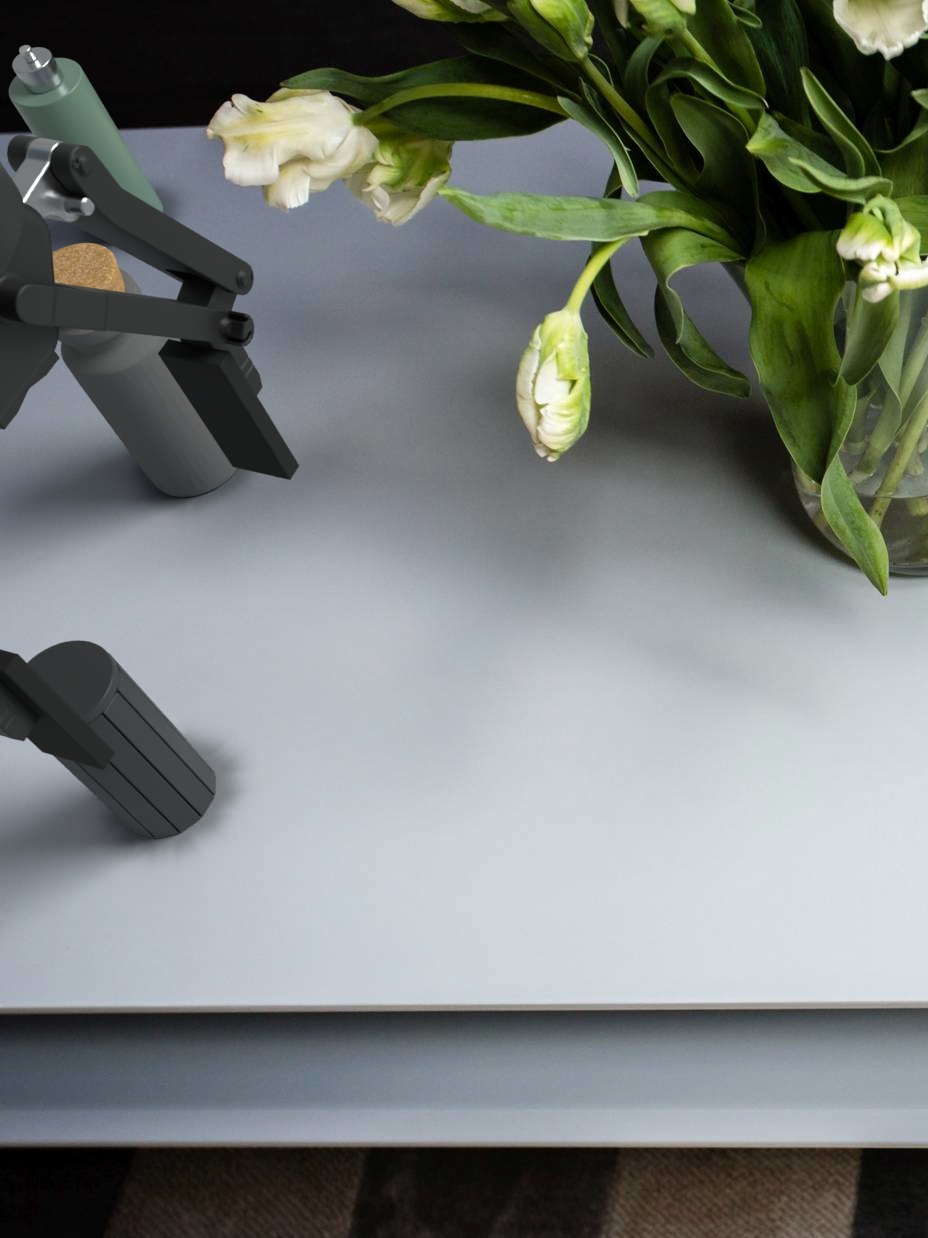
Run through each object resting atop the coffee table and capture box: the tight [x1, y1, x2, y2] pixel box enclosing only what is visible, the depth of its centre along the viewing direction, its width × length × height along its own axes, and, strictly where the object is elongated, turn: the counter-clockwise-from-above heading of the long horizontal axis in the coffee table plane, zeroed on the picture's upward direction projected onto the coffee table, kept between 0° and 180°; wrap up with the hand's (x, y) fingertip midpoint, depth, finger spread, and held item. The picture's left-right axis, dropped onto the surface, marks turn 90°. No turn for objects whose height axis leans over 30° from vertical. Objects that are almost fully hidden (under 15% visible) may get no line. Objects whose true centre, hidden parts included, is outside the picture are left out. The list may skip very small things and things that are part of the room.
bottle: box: [52, 242, 239, 498], centre depth 91 cm, size 6×6×15 cm
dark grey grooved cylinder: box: [26, 639, 217, 839], centre depth 80 cm, size 5×5×11 cm
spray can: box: [8, 44, 164, 213], centre depth 104 cm, size 5×5×13 cm
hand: (177, 602), depth 62 cm, fingers open, 13 cm apart
